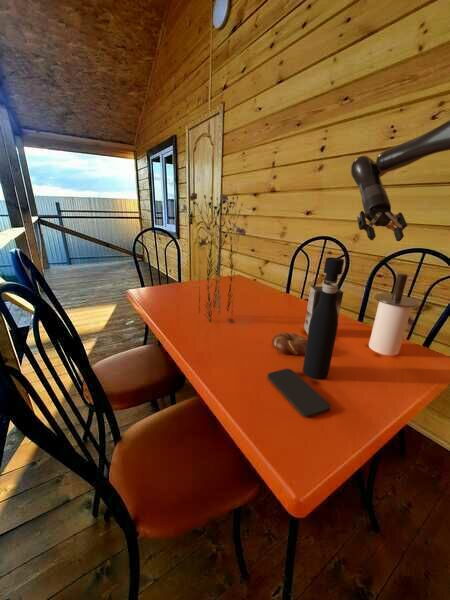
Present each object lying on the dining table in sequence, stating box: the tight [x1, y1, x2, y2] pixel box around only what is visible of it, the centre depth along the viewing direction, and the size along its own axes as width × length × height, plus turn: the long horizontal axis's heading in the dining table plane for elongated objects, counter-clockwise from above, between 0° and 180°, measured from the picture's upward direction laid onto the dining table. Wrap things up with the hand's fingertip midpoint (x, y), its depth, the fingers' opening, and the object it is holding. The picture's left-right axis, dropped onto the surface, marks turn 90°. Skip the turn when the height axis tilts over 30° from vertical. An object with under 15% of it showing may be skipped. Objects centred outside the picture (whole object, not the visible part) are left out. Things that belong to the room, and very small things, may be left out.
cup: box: [368, 301, 413, 357], centre depth 77 cm, size 8×8×16 cm
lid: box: [374, 272, 420, 308], centre depth 73 cm, size 11×11×8 cm
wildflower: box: [189, 192, 246, 323], centre depth 91 cm, size 22×23×45 cm
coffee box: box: [303, 285, 344, 335], centre depth 87 cm, size 9×6×16 cm
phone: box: [267, 368, 332, 418], centre depth 59 cm, size 7×1×15 cm
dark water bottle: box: [302, 257, 345, 381], centre depth 62 cm, size 6×6×30 cm
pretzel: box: [271, 332, 307, 356], centre depth 78 cm, size 12×11×4 cm
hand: (386, 239), depth 80 cm, fingers open, 8 cm apart
